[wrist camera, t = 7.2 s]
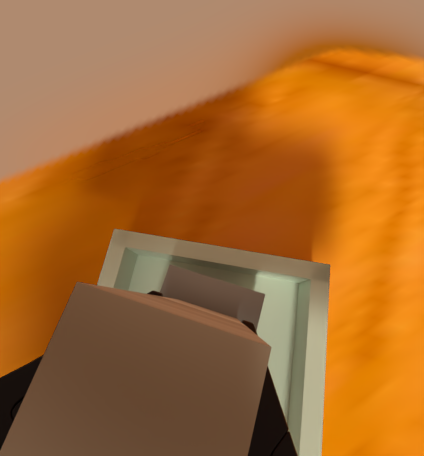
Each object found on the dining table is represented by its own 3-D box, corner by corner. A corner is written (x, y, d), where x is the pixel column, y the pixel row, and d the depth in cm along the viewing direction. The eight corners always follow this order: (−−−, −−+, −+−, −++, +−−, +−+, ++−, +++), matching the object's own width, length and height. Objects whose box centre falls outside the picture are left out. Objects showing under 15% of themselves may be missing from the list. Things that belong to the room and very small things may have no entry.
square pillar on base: (229, 403, 14) (264, 958, 2) (146, 372, 15) (-189, 658, 3) (256, 296, 16) (362, 263, 4) (180, 273, 16) (63, 179, 4)
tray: (291, 587, 13) (311, 669, 10) (52, 518, 14) (8, 573, 11) (312, 271, 17) (330, 264, 14) (131, 240, 18) (114, 228, 16)
